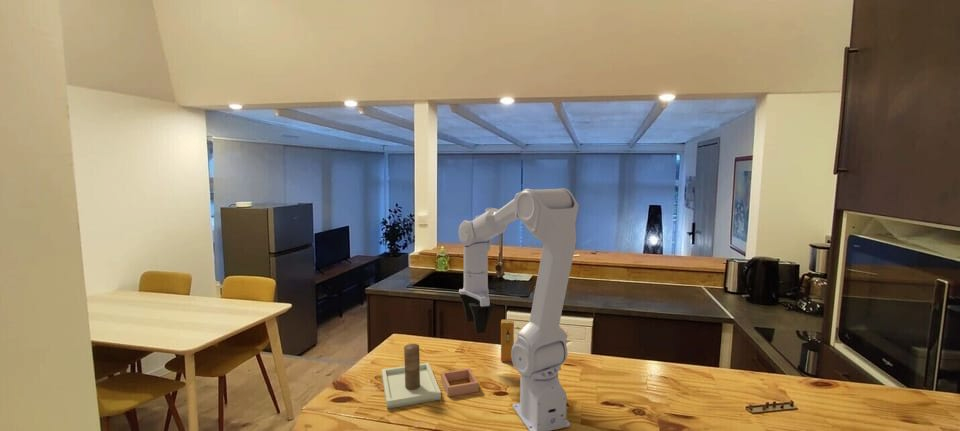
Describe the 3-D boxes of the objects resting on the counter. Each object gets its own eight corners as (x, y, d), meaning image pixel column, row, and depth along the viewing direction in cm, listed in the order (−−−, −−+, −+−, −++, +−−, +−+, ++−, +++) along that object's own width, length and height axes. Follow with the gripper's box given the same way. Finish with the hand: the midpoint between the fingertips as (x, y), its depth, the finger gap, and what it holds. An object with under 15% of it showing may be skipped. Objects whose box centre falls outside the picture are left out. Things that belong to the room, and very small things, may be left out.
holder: (478, 391, 87) (478, 382, 87) (447, 396, 85) (447, 387, 85) (469, 376, 93) (469, 368, 93) (440, 381, 91) (440, 372, 91)
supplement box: (513, 356, 104) (514, 318, 103) (513, 362, 100) (514, 323, 99) (501, 355, 104) (501, 318, 103) (500, 362, 101) (500, 323, 100)
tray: (441, 399, 84) (440, 392, 84) (387, 408, 80) (386, 401, 80) (428, 368, 97) (428, 362, 97) (381, 375, 94) (381, 369, 94)
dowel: (421, 388, 87) (420, 349, 86) (406, 391, 86) (405, 351, 85) (419, 381, 90) (418, 342, 89) (404, 383, 89) (403, 344, 88)
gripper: (451, 265, 101) (452, 318, 102) (468, 279, 87) (468, 340, 88) (478, 263, 103) (478, 315, 104) (498, 277, 89) (498, 336, 91)
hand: (475, 326), depth 97 cm, fingers open, 7 cm apart
